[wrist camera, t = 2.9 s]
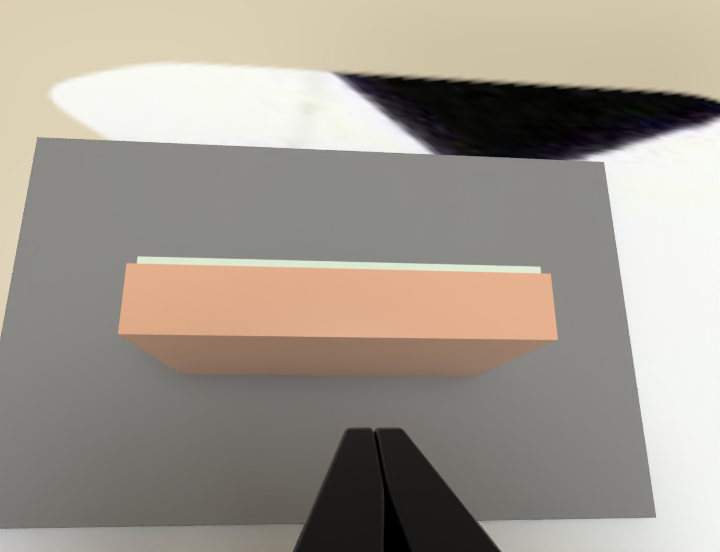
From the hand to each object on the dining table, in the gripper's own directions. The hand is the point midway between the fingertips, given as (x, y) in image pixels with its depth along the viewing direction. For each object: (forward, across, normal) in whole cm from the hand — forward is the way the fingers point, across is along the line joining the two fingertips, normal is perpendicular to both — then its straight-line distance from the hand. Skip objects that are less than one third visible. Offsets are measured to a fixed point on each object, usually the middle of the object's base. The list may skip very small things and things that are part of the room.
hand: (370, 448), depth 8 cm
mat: (+13, 0, +6) cm, 14 cm away
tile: (+12, 0, +6) cm, 13 cm away
